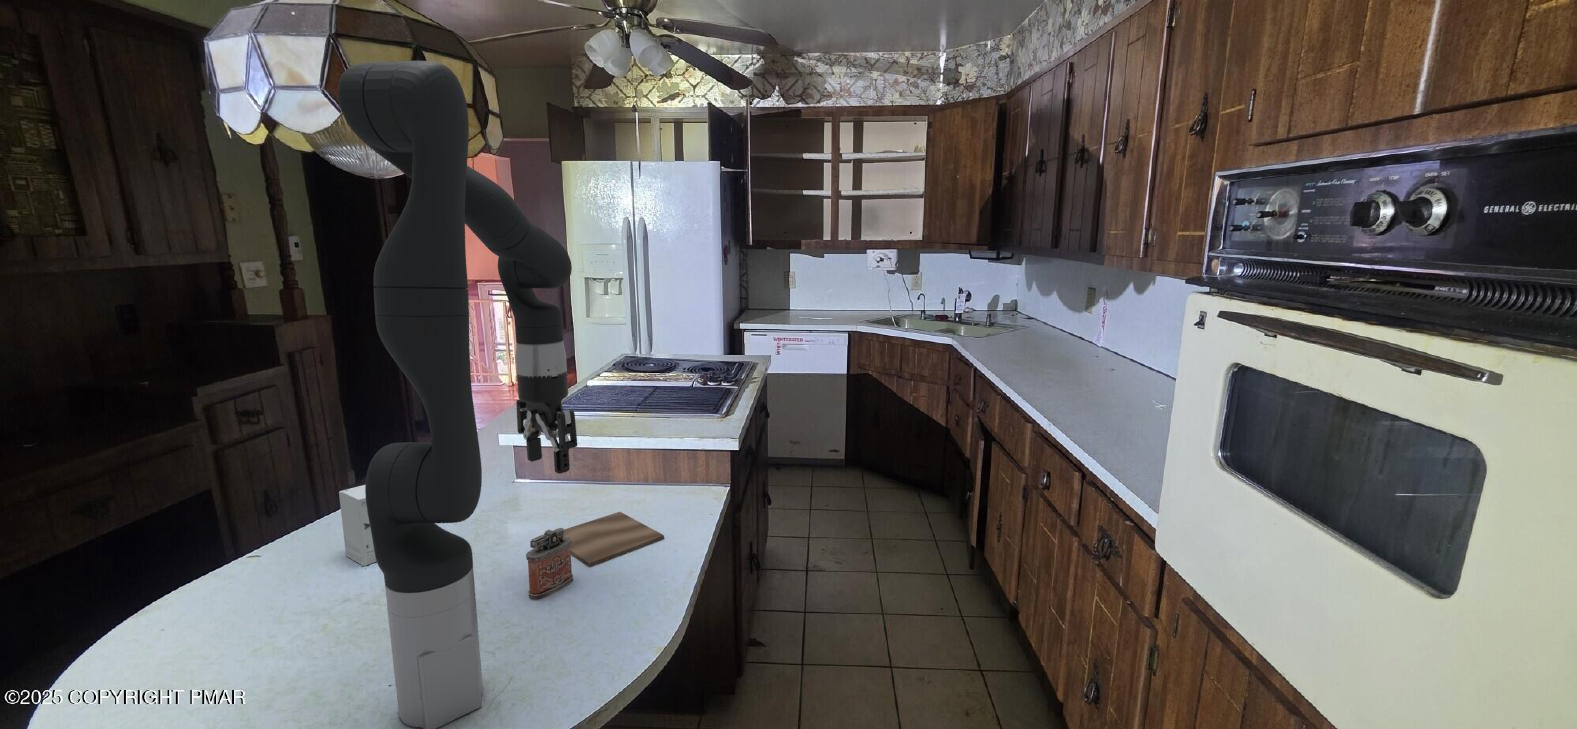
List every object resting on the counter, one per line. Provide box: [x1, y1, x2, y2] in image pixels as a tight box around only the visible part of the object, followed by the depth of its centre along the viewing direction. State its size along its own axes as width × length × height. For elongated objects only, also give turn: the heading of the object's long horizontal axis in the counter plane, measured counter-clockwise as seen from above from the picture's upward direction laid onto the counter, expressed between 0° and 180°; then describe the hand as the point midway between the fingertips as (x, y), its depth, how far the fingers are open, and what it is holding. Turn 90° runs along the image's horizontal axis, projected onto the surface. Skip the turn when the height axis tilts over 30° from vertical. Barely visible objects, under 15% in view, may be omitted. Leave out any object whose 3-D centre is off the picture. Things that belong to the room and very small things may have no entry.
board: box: [563, 511, 665, 568], centre depth 123 cm, size 16×16×1 cm
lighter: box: [525, 527, 574, 601], centre depth 104 cm, size 8×3×10 cm, turn 149°
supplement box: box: [338, 484, 377, 567], centre depth 115 cm, size 7×7×13 cm
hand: (548, 466), depth 104 cm, fingers open, 8 cm apart
